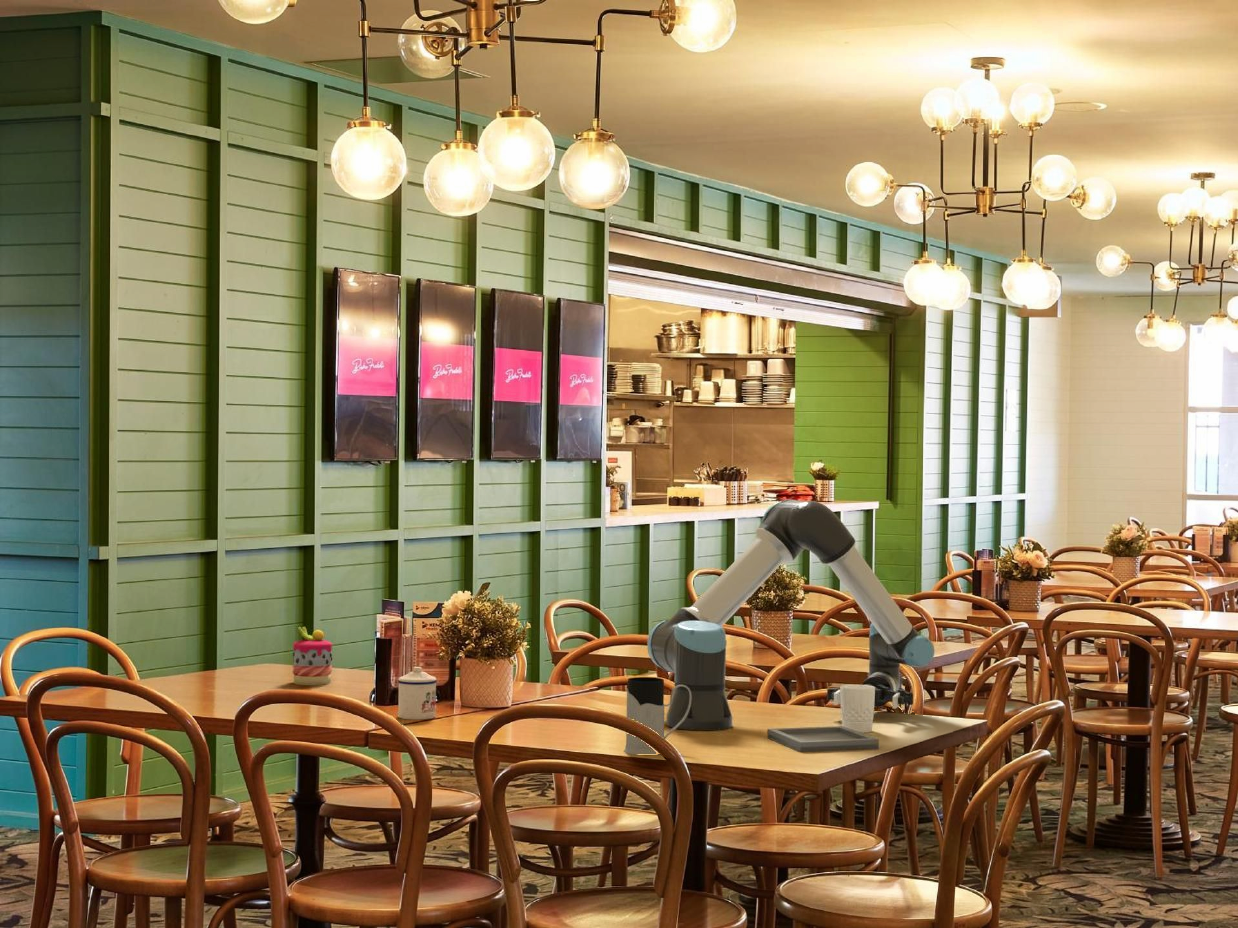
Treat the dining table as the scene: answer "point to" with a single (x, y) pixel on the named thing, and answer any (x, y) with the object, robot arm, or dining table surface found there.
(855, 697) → the white cup
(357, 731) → the dining table surface
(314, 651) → the cake
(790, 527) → the robot arm
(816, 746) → the serving tray
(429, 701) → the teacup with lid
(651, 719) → the glass holder
